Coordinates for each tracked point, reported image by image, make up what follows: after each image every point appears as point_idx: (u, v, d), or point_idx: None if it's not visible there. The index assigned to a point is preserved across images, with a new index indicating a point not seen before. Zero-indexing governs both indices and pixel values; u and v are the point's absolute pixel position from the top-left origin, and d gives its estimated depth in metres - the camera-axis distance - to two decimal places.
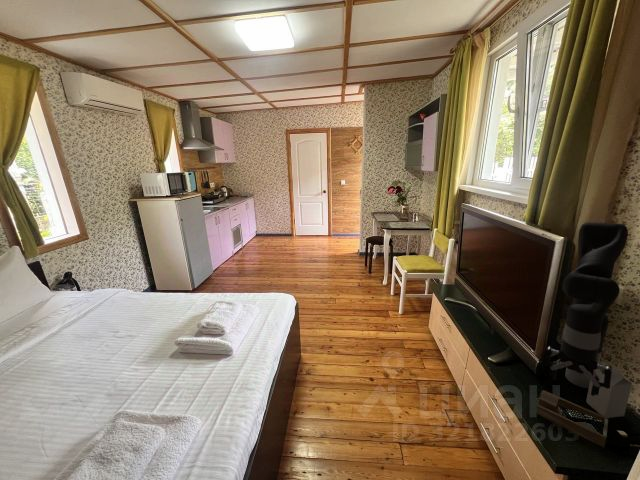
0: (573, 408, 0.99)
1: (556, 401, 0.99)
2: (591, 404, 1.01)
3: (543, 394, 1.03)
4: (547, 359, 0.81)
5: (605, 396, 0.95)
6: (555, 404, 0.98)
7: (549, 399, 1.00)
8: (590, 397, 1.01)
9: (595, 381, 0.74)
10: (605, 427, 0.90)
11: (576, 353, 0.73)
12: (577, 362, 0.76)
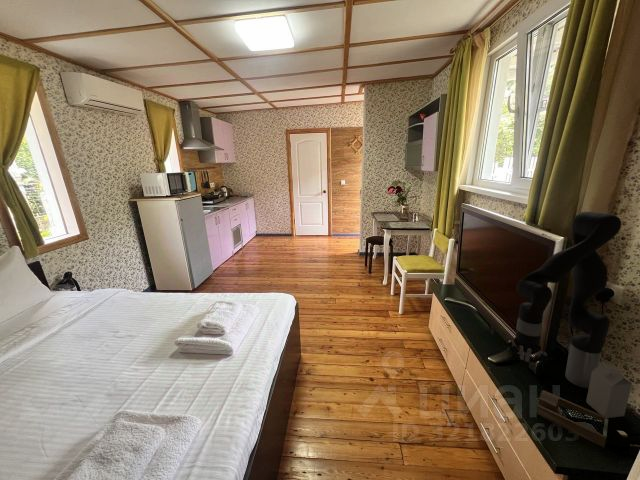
0: (573, 408, 0.99)
1: (556, 401, 0.99)
2: (591, 404, 1.01)
3: (543, 394, 1.03)
4: (513, 350, 1.05)
5: (605, 396, 0.95)
6: (555, 404, 0.98)
7: (549, 399, 1.00)
8: (590, 397, 1.01)
9: (526, 358, 1.02)
10: (605, 427, 0.90)
11: (525, 339, 0.99)
12: (526, 346, 1.01)
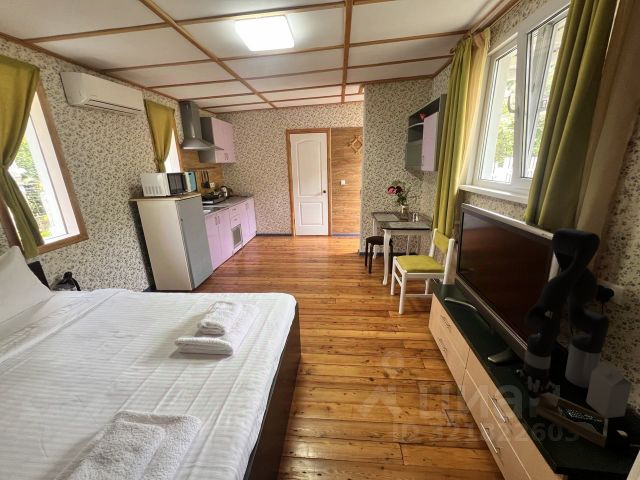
0: (573, 408, 0.99)
1: (556, 401, 0.99)
2: (591, 404, 1.01)
3: (543, 394, 1.03)
4: (522, 380, 1.06)
5: (605, 396, 0.95)
6: (555, 404, 0.98)
7: (549, 399, 1.00)
8: (590, 397, 1.01)
9: (534, 388, 1.03)
10: (605, 427, 0.90)
11: (533, 371, 0.99)
12: (535, 377, 1.02)
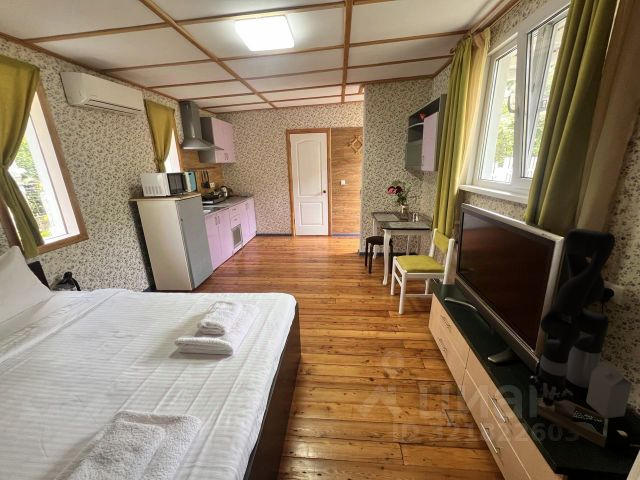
0: None
1: (573, 409, 0.95)
2: (591, 404, 1.01)
3: (559, 401, 0.99)
4: (536, 387, 1.02)
5: (605, 396, 0.95)
6: (572, 413, 0.94)
7: (565, 407, 0.96)
8: (590, 397, 1.01)
9: (550, 395, 0.99)
10: (605, 427, 0.90)
11: (549, 377, 0.95)
12: (551, 384, 0.98)
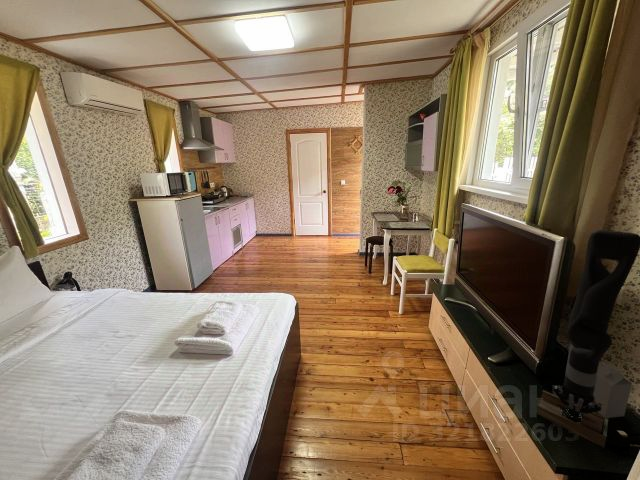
0: None
1: (601, 423, 0.90)
2: None
3: (585, 414, 0.93)
4: (561, 398, 0.96)
5: (605, 396, 0.95)
6: (600, 427, 0.89)
7: (592, 420, 0.91)
8: None
9: (576, 407, 0.93)
10: (605, 427, 0.90)
11: (577, 388, 0.90)
12: (577, 395, 0.92)
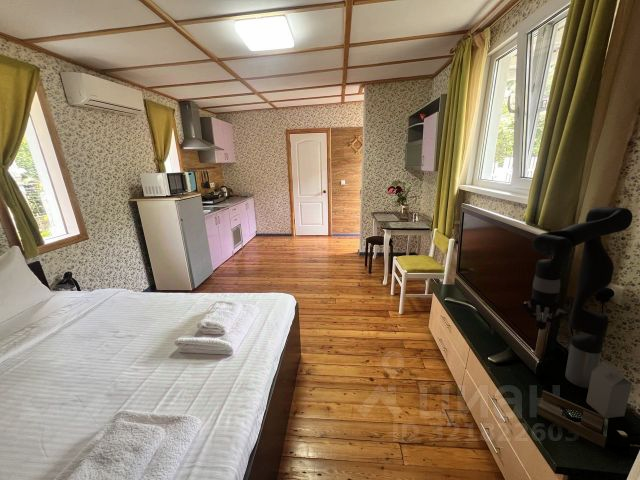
0: (573, 408, 0.99)
1: (601, 423, 0.90)
2: (591, 404, 1.01)
3: (585, 414, 0.93)
4: (530, 311, 1.01)
5: (605, 396, 0.95)
6: (600, 427, 0.89)
7: (592, 420, 0.91)
8: (590, 397, 1.01)
9: (543, 318, 0.98)
10: (605, 427, 0.90)
11: (542, 297, 0.94)
12: (544, 305, 0.97)
